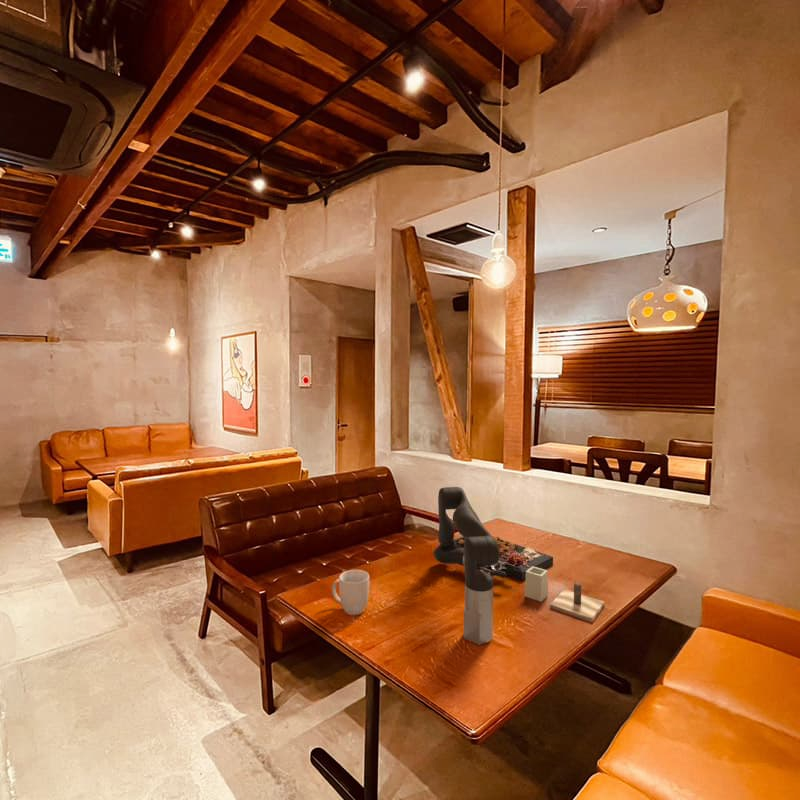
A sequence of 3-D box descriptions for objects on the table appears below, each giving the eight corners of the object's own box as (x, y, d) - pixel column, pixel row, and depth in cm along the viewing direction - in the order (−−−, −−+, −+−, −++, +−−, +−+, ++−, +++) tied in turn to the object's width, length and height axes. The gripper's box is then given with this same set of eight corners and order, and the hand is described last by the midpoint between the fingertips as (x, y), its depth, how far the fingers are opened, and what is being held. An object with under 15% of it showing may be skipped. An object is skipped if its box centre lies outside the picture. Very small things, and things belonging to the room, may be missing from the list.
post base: (592, 622, 152) (592, 598, 152) (549, 608, 162) (550, 585, 161) (604, 605, 163) (604, 583, 163) (564, 592, 173) (564, 572, 173)
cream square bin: (541, 601, 166) (541, 576, 166) (525, 596, 170) (525, 571, 170) (547, 595, 171) (548, 570, 171) (532, 590, 175) (532, 566, 175)
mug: (324, 612, 159) (324, 577, 158) (340, 598, 169) (340, 565, 168) (360, 621, 153) (360, 585, 152) (374, 606, 163) (374, 572, 162)
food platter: (553, 566, 199) (553, 544, 199) (522, 582, 183) (522, 558, 183) (476, 539, 233) (476, 520, 233) (444, 550, 217) (444, 530, 217)
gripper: (467, 557, 182) (502, 569, 172) (484, 547, 193) (518, 557, 183) (467, 575, 183) (502, 587, 172) (483, 564, 194) (517, 574, 183)
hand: (510, 572), depth 178 cm, fingers open, 8 cm apart
